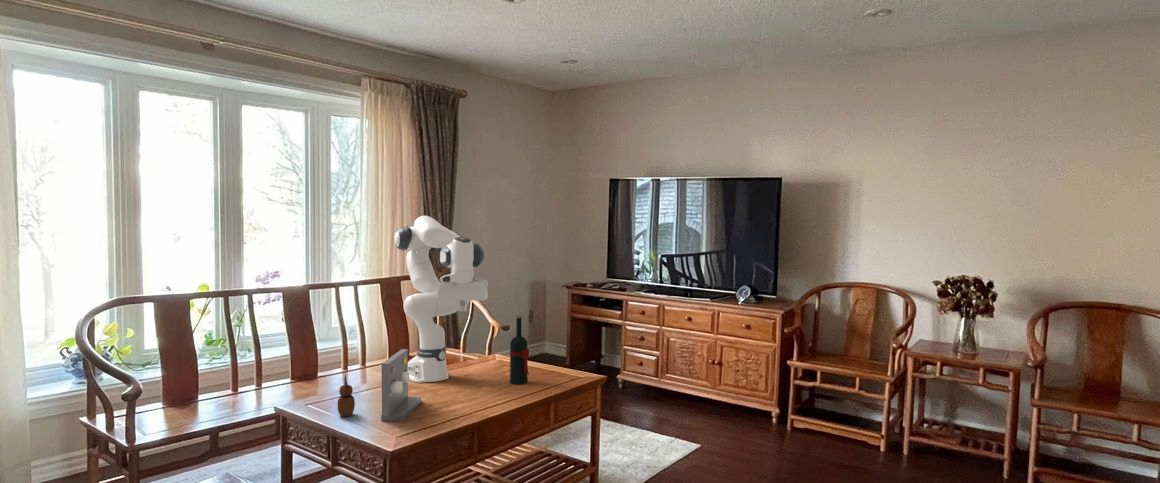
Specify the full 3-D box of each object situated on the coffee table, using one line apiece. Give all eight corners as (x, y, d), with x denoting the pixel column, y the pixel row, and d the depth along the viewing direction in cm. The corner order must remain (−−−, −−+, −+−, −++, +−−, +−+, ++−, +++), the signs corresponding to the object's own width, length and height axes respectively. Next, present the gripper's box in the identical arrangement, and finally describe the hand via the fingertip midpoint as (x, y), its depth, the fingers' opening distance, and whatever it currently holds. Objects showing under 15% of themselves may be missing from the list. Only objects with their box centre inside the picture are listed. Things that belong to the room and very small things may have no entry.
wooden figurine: (340, 412, 248) (340, 373, 247) (356, 412, 248) (356, 373, 248) (335, 418, 241) (335, 378, 240) (351, 418, 242) (351, 377, 241)
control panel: (421, 401, 262) (420, 349, 261) (403, 421, 238) (402, 364, 237) (401, 401, 263) (400, 349, 262) (381, 421, 239) (380, 363, 238)
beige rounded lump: (409, 381, 259) (409, 370, 259) (405, 384, 255) (405, 373, 255) (401, 381, 259) (401, 370, 259) (397, 384, 255) (397, 373, 255)
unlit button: (403, 391, 245) (403, 380, 245) (399, 395, 241) (399, 383, 241) (394, 391, 245) (394, 379, 245) (390, 394, 241) (390, 383, 241)
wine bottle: (520, 386, 285) (520, 318, 283) (506, 382, 292) (506, 315, 291) (534, 383, 290) (534, 316, 289) (520, 379, 298) (520, 313, 296)
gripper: (489, 276, 271) (489, 310, 272) (439, 276, 271) (439, 309, 272) (486, 278, 265) (486, 312, 265) (436, 277, 265) (436, 312, 266)
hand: (462, 311), depth 269 cm, fingers closed
